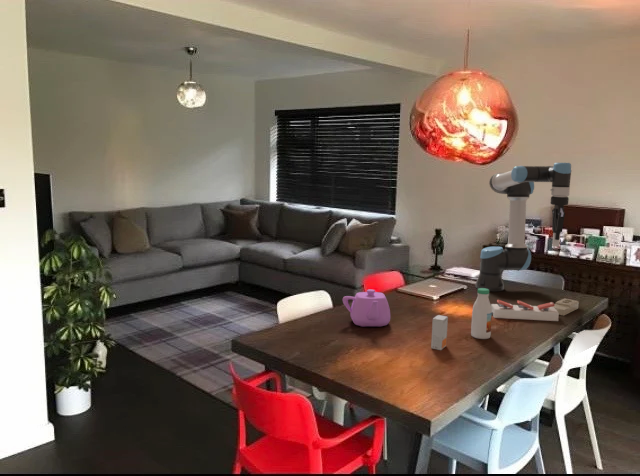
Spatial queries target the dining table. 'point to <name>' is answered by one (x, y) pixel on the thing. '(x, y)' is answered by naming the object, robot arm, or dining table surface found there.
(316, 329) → the dining table surface
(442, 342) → the skincare box
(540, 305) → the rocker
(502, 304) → the rocker
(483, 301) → the milk bottle
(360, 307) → the teapot
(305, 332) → the dining table surface
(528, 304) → the rocker
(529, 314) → the power strip
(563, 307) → the electrical outlet
